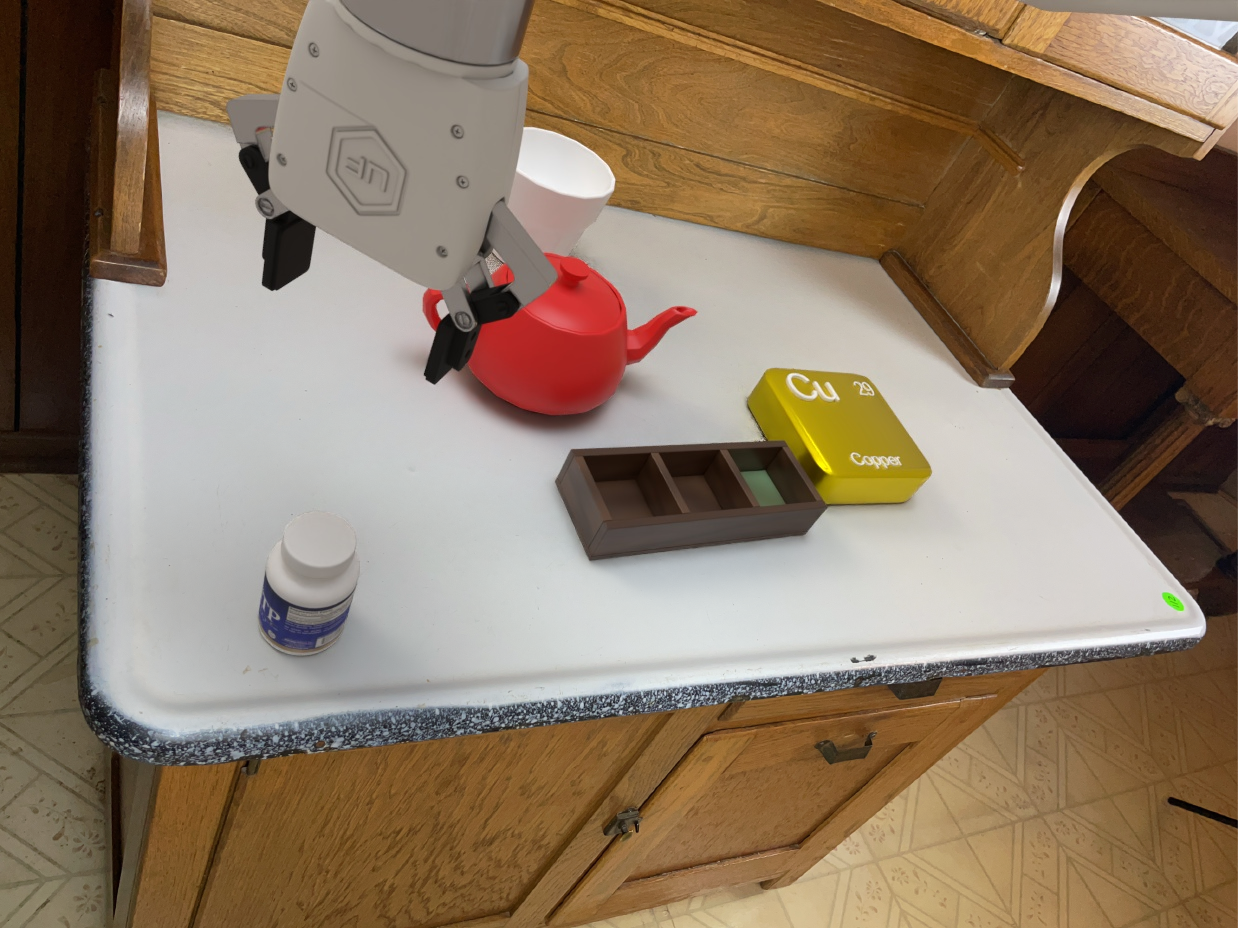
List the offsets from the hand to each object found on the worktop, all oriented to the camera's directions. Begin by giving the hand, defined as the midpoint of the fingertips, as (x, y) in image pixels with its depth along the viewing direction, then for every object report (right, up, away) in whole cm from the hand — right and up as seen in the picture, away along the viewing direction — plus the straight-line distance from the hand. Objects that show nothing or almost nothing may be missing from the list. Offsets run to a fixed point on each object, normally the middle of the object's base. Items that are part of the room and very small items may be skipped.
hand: (364, 324), depth 45 cm
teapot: (+6, +1, +34) cm, 35 cm away
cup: (+3, +15, +47) cm, 50 cm away
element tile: (+35, -6, +43) cm, 56 cm away
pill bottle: (-7, -17, +9) cm, 21 cm away
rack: (+19, -11, +29) cm, 37 cm away
